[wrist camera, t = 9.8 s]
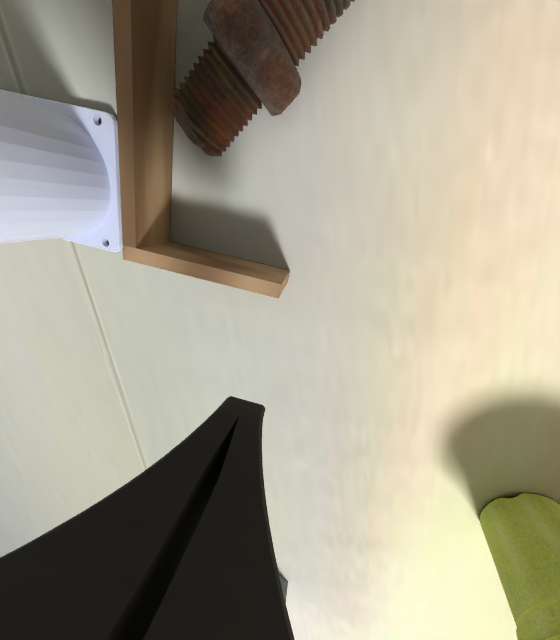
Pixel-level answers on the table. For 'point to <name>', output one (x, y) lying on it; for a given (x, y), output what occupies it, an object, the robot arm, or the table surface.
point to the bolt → (248, 65)
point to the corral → (161, 152)
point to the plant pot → (527, 560)
